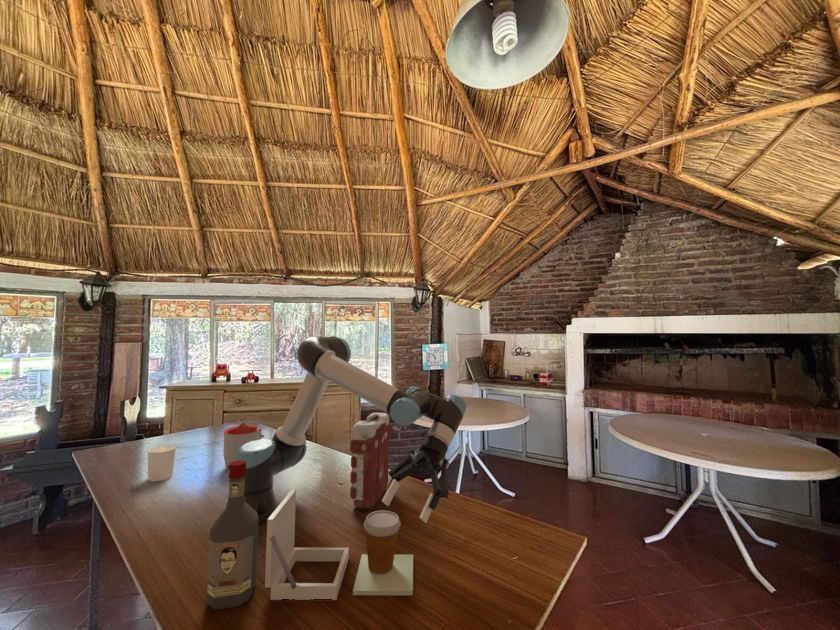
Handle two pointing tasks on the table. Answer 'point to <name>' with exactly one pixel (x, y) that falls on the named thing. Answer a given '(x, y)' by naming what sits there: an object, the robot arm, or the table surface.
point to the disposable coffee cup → (381, 540)
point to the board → (385, 578)
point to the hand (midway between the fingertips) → (402, 511)
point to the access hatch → (296, 558)
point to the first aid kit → (369, 460)
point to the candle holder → (161, 462)
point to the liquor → (233, 547)
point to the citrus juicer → (238, 440)
